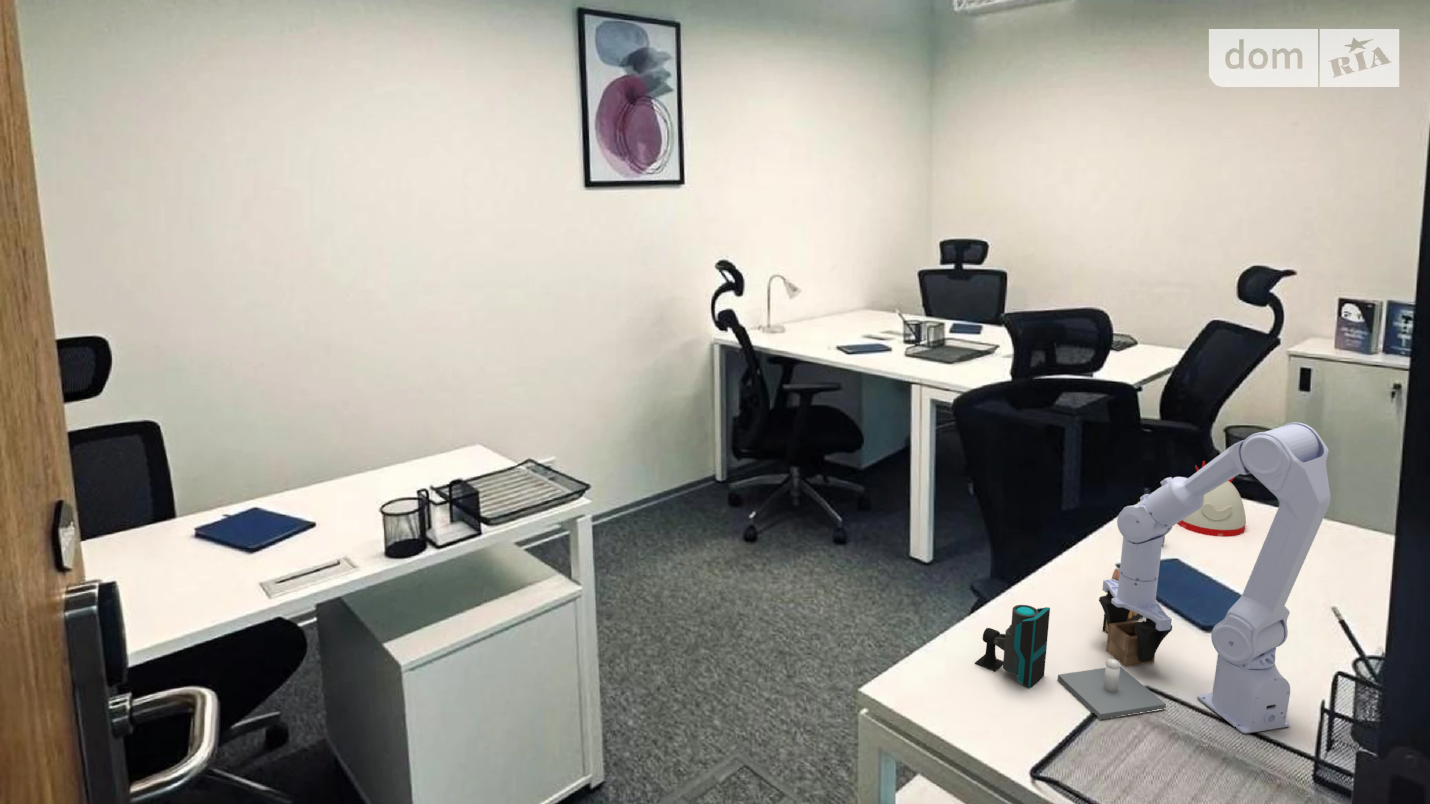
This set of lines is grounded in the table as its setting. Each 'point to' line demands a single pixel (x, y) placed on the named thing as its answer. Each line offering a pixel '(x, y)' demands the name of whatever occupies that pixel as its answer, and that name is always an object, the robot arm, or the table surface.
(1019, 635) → the surveillance camera
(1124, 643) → the walnut frame
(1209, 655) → the table surface
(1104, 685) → the gray peg stand
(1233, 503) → the kitchen timer
